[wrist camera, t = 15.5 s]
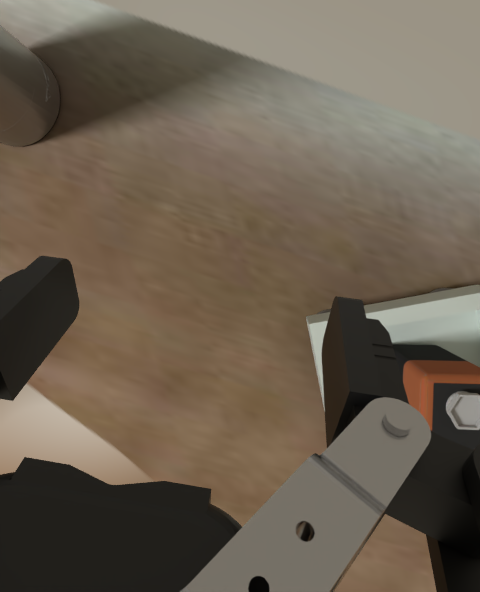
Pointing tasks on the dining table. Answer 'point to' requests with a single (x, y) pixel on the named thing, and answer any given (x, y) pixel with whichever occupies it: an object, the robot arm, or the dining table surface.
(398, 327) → the cart
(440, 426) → the battery
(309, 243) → the dining table surface
